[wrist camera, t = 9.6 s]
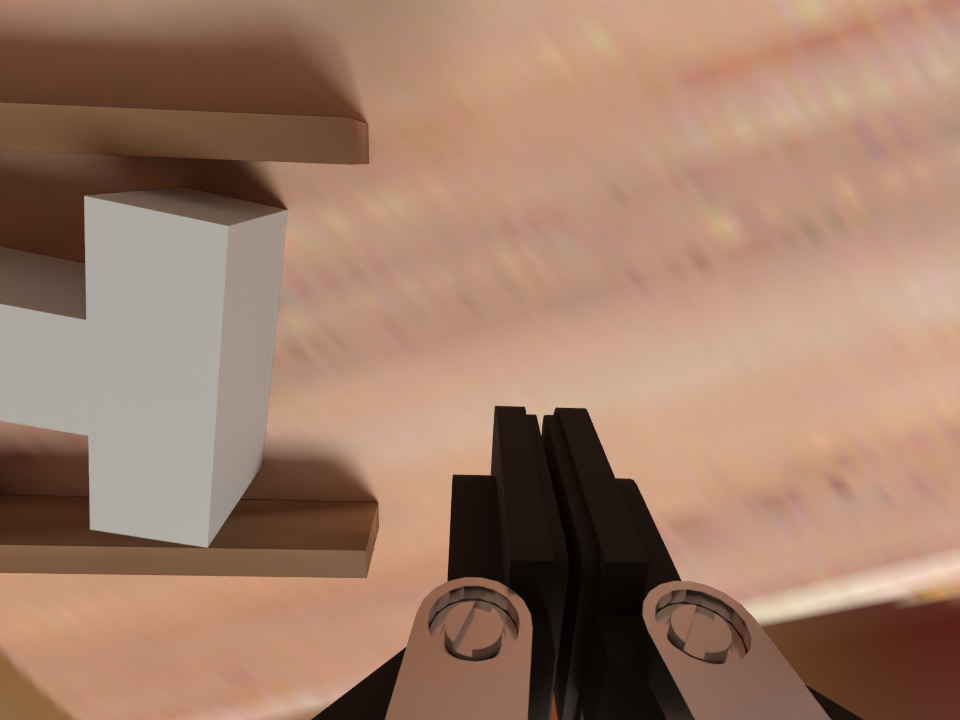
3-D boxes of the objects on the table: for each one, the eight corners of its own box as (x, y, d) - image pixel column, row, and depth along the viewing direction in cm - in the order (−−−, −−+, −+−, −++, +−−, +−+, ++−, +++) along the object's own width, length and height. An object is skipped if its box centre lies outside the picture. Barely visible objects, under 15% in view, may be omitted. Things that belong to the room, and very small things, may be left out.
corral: (-156, 101, 17) (-277, 90, 15) (368, 124, 18) (349, 117, 15) (-25, 519, 23) (-95, 571, 20) (378, 526, 23) (366, 578, 20)
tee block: (-28, 142, 18) (-204, 135, 13) (287, 209, 19) (228, 226, 14) (-6, 419, 21) (-141, 493, 16) (262, 465, 22) (207, 547, 17)
